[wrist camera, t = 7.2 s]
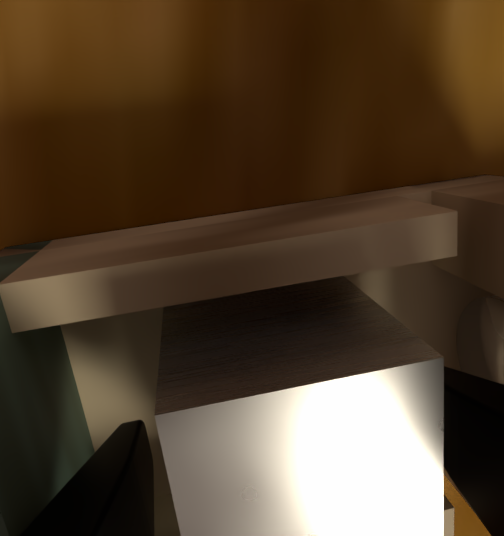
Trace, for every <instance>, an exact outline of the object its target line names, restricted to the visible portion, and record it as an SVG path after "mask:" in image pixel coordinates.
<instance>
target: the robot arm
mask: <svg viewBox="0 0 504 536" xmlns="http://www.w3.org/2000/svg"><path fill="white" fill-rule="evenodd" d="M443 467H444V468H445V470H446V471H447V473H448V475H449V476H450V478H451V479H452V481H453V482H454V484H455V485H456V487H457V488H458V490H459V491H460V492H461V494H462V495H463V497H464V498H465V499H466V501H467V502H468V504H469V505H470V506H471V508H472V509H473V510H474V512H475V513H476V515H477V516H478V517H479V519H480V520H481V522H482V523H483V524H484V526H485V527H486V529H487V530H488V531H489V533H490V534H491V536H504V384H501V383H497V382H494V381H491V380H488V379H484V378H481V377H478V376H475V375H472V374H468V373H465V372H462V371H459V370H455V369H452V368H449V367H446V366H444V466H443ZM19 536H154V469H153V458H152V453H151V448H150V444H149V439H148V435H147V431H146V427H145V423H144V422H143V421H142V420H135V421H130V422H125V423H122V424H120V425H119V426H118V427H117V429H116V430H115V431H114V432H113V433H112V434H111V435H110V436H109V437H108V438H107V439H106V441H105V442H104V443H103V444H102V445H101V446H100V447H99V448H98V449H97V450H96V452H95V453H94V454H93V455H92V456H91V457H90V458H89V459H88V460H87V461H86V463H85V464H84V465H83V466H82V467H81V468H80V469H79V470H78V471H77V472H76V474H75V475H74V476H73V477H72V478H71V479H70V480H69V481H68V482H67V483H66V484H65V486H64V487H63V488H62V489H61V490H60V491H59V492H58V493H57V494H56V495H55V497H54V498H53V499H52V500H51V501H50V502H49V503H48V504H47V505H46V506H45V508H44V509H43V510H42V511H41V512H40V513H39V514H38V515H37V516H36V517H35V519H34V520H33V521H32V522H31V523H30V524H29V525H28V526H27V527H26V528H25V529H24V531H23V532H22V533H21V534H20V535H19Z"/></svg>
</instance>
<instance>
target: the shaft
mask: <svg viewBox="0 0 504 536" xmlns="http://www.w3.org/2000/svg"><path fill="white" fill-rule="evenodd" d="M456 346H457V355H458V360H459V364H460V368H461V371H462V372H465V373H468V374H472V375H475V376H478V377H481V378H484V379H488V380H491V381H494V382H497V383H501V384H504V299H502V298H500V297H498V296H496V295H494V296H488V297H483V298H478V299H475V300H473V301H471V302H470V303H469V304H468V305H467V306H466V307H465V308H464V310H463V311H462V313H461V316H460V318H459V321H458V326H457V333H456Z"/></svg>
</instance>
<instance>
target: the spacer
mask: <svg viewBox="0 0 504 536" xmlns="http://www.w3.org/2000/svg"><path fill="white" fill-rule="evenodd" d="M155 420H156V425H157V429H158V434H159V438H160V443H161V448H162V452H163V457H164V461H165V466H166V470H167V475H168V479H169V484H170V489H171V493H172V498H173V502H174V507H175V511H176V516H177V520H178V525H179V530H180V534H181V536H443V466H444V357H443V356H441V355H440V354H439V353H438V352H437V351H435V350H434V349H433V348H432V347H430V346H429V345H428V344H427V343H425V342H424V341H423V340H422V339H421V338H419V337H418V336H417V335H416V334H414V333H413V332H412V331H411V330H410V329H408V328H407V327H406V326H405V325H403V324H402V323H401V322H400V321H398V320H397V319H396V318H395V317H394V316H392V315H391V314H390V313H389V312H387V311H386V310H385V309H384V308H382V307H381V306H380V305H379V304H378V303H376V302H375V301H374V300H373V299H371V298H370V297H369V296H368V295H366V294H365V293H364V292H363V291H362V290H360V289H359V288H358V287H357V286H355V285H354V284H353V283H352V282H350V281H349V280H348V279H347V278H346V277H344V276H338V277H333V278H327V279H321V280H315V281H310V282H304V283H298V284H292V285H287V286H281V287H275V288H269V289H264V290H258V291H252V292H246V293H241V294H235V295H229V296H223V297H217V298H212V299H206V300H200V301H194V302H189V303H183V304H177V305H171V306H166V307H163V319H162V331H161V343H160V355H159V367H158V379H157V391H156V404H155Z"/></svg>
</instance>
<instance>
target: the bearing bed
mask: <svg viewBox="0 0 504 536" xmlns="http://www.w3.org/2000/svg"><path fill="white" fill-rule="evenodd" d="M338 276H344V277H346V278H347V279H348V280H349V281H350V282H352V283H353V284H354V285H355V286H357V287H358V288H359V289H360V290H362V291H363V292H364V293H365V294H366V295H368V296H369V297H370V298H371V299H373V300H374V301H375V302H376V303H378V304H379V305H380V306H381V307H382V308H384V309H385V310H386V311H387V312H389V313H390V314H391V315H392V316H394V317H395V318H396V319H397V320H398V321H400V322H401V323H402V324H403V325H405V326H406V327H407V328H408V329H410V330H411V331H412V332H413V333H414V334H416V335H417V336H418V337H419V338H421V339H422V340H423V341H424V342H425V343H427V344H428V345H429V346H430V347H432V348H433V349H434V350H435V351H437V352H438V353H439V354H440V355H441V356H443V357H444V366H446V367H449V368H452V369H455V370H459V371H461V368H460V364H459V360H458V355H457V346H456V333H457V326H458V321H459V318H460V316H461V313H462V311H463V310H464V308H465V307H466V306H467V305H468V304H469V303H470V302H471V301H473V300H475V299H478V298H483V297H488V296H494V295H496V296H498V297H500V298H502V299H504V177H503V176H494V175H479V176H472V177H466V178H459V179H453V180H446V181H439V182H433V183H426V184H420V185H413V186H406V187H400V188H393V189H387V190H380V191H373V192H367V193H360V194H354V195H347V196H340V197H334V198H327V199H321V200H314V201H307V202H301V203H294V204H288V205H281V206H274V207H268V208H261V209H255V210H248V211H241V212H235V213H228V214H222V215H215V216H208V217H202V218H195V219H189V220H182V221H175V222H169V223H162V224H156V225H149V226H142V227H136V228H129V229H123V230H116V231H109V232H103V233H96V234H90V235H83V236H76V237H70V238H63V239H57V240H50V241H43V242H37V243H30V244H24V245H17V246H10V247H5V248H4V249H2V250H0V536H19V535H20V534H21V533H22V532H23V531H24V529H25V528H26V527H27V526H28V525H29V524H30V523H31V522H32V521H33V520H34V519H35V517H36V516H37V515H38V514H39V513H40V512H41V511H42V510H43V509H44V508H45V506H46V505H47V504H48V503H49V502H50V501H51V500H52V499H53V498H54V497H55V495H56V494H57V493H58V492H59V491H60V490H61V489H62V488H63V487H64V486H65V484H66V483H67V482H68V481H69V480H70V479H71V478H72V477H73V476H74V475H75V474H76V472H77V471H78V470H79V469H80V468H81V467H82V466H83V465H84V464H85V463H86V461H87V460H88V459H89V458H90V457H91V456H92V455H93V454H94V453H95V452H96V450H97V449H98V448H99V447H100V446H101V445H102V444H103V443H104V442H105V441H106V439H107V438H108V437H109V436H110V435H111V434H112V433H113V432H114V431H115V430H116V429H117V427H118V426H119V425H120V424H122V423H125V422H130V421H135V420H142V421H143V422H144V423H145V427H146V431H147V435H148V439H149V444H150V448H151V453H152V458H153V469H154V536H181V534H180V530H179V525H178V520H177V516H176V511H175V507H174V502H173V498H172V493H171V489H170V484H169V479H168V475H167V470H166V466H165V461H164V457H163V452H162V448H161V443H160V438H159V434H158V429H157V425H156V420H155V404H156V391H157V379H158V367H159V355H160V343H161V331H162V319H163V307H166V306H171V305H177V304H183V303H189V302H194V301H200V300H206V299H212V298H217V297H223V296H229V295H235V294H241V293H246V292H252V291H258V290H264V289H269V288H275V287H281V286H287V285H292V284H298V283H304V282H310V281H315V280H321V279H327V278H333V277H338ZM443 473H444V475H445V476H446V477H447V478H448V480H449V481H450V482H451V483H452V485H453V486H454V487H455V488H456V490H457V491H458V492H459V493H460V495H461V496H462V497H463V495H462V494H461V492H460V491H459V490H458V488H457V487H456V485H455V484H454V482H453V481H452V479H451V478H450V476H449V475H448V473H447V471H446V470H445V468H444V467H443ZM463 498H464V497H463ZM464 500H465V501H466V499H465V498H464ZM466 502H467V501H466ZM467 503H468V502H467ZM468 505H469V504H468ZM469 506H470V505H469ZM470 507H471V506H470ZM472 510H473V509H472ZM473 511H474V510H473ZM443 536H454V507H453V506H452V504H451V503H450V502H449V500H448V499H447V498H446V496H445V495H444V494H443Z"/></svg>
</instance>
